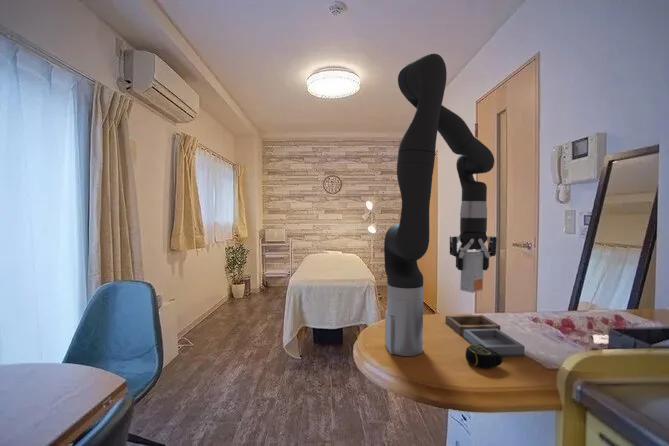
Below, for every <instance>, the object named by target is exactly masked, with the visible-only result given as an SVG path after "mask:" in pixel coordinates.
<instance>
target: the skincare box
mask: <svg viewBox="0 0 669 446" xmlns="http://www.w3.org/2000/svg"><path fill="white" fill-rule="evenodd" d="M462 258H463V270H460V283H459V284H460V285H459V287H460V288H459V289H460V291H463V292H467V293H472V294H473V293H477V292H480V291H483V287H484V286H483V285H484V270H483V263H484V253H483V252H480V251H478V250H468V251H467V252H466V253H465V254H464V256H463V257H462Z"/></svg>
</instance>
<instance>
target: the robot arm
mask: <svg viewBox="0 0 669 446" xmlns="http://www.w3.org/2000/svg"><path fill="white" fill-rule="evenodd" d="M447 73H448V72H447V66H446V62H445V60H444V59H443V57H442V56H441V55H440V54H437V53H430V54H426V55H424V56H421V57H420V58H417V59H416V60H414V61H412V62H411V61H410V62H409V63H407V64H405V65H404V66H403V67H401V69H400V70H399V72H398V75H397V84H398V88H399V90H400V92H401V94H402V95H403V96H404V98H405V99H406V101H408V102H409V103H410V104H411V105H412V106H413V107H414V108H415V112H414V115H413V117H412V120H411V122H410V123H409V125H408V127H407V129H406V130H405V132H404V134H403V136H402V138H401V139H400V140H401V141H400V143H399V146H398V152H397V160H396V161H397V163H396V178H397V182H398V183H397V184H398V187H399V192H400V197H401V211H400V219H399V222H398V223H395V224H393V225H391V226H390V227H389V228H388V229H387V230H386V232H385V234H384V241H383V242H384V243H383V247H384V248H383V252H384V253H383V255H384V271H385V276H386V280H387V281H386V282H387V283H386V285H387V286H386V289H387V290H386V291H387V292H386V293H387V294H386V295H387V296H386V298H387V299H386V300H387V301H386V309H385V312H384V345H385V347H386V349H387V350H388V353H389V354H390V355H397V356H401V357H402V356H403V357H416V356H419V355H421V354H422V353H423V348H424V347H423V345H424V341H423V340H424V338H423V337H424V335H423V334H424V333H423V332H424V331H423V330H424V324H423V323H424V276H423V273H422V271H420V268H419V266H418V261H419V260H420V259H422V258H423V257H424V256H425V255H426V253H427V250H428V248H429V245H430V208H431V207H430V204H431V196H432V195H431V194H432V185H433V184H432V183H433V175H434V168H435V159H436V145H437V138H438V137H437V136H438V133H439V135H440V136H441V137H442V139H443V140H444V142H445V143H446V145H447V146H448V148H449V149H450V150H451V151H452V153H453V154H455V155H458V157H457V159H456V164H455V167H456V172H457V175H458V179H459V183H460V186H461V203H460V204H461V205H460V213H459V216H460V217H459V218H460V219H459V221H460V222H459V225H460V226H459V232H460V234H459V236H454V235H450V236H449V255H451V256H453V257H454V258H455V268H456V269H457V270H458V271H461V270H463V258H462V257H463V256H464V254H465V253H466V252H467V251H474V250H475V251H478V252H483V253H484V263H483V271H488V269H489V267H490V258H492V257H495V256H496V255H497V239H498V238H497V237H496V236H493V235H490V236H487V229H488V207H487V205H488V203H487V199H488V198H487V197H488V196H487V195H488V186H487V184H486V183H485V182H482V181H478V180H477V181H476V180H475V178H474V175H478V174H486V173H489V172H490V171H492V169H493V168H494V165H495V157H494V154H493V152H492V151H491V149H489V148H488V147H487V145H485V144H484V143H483V142H482V141H481V140H479V139H478V138H476V137H475V136H474V134H473V132H472V130H471V129H470V128H469V126H468V124H467V123H466V121H465V120H464V119H463V118H462V117H461V116H460V115H458V114H457V113H455V112H453V111H452V110H451V109H449V108H447V107H445V105H443V100H444V95H445V90H446V85H447V76H448V75H447ZM459 242H460V245H459V247H458V243H459ZM486 242H487V246H486V245H485V243H486Z"/></svg>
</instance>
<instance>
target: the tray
mask: <svg viewBox="0 0 669 446" xmlns="http://www.w3.org/2000/svg"><path fill="white" fill-rule="evenodd" d="M463 339H464V340H465V341H466V342H467V343H468V344H469V345H478V344H481V345H483V346H485V347H487V348H489V349H491V350H493V351H495V352H496V353H498V354H499V355H501V357H502V358H503V357H525V345H523V344H522V343H520V342H519V341H517V340H516V339H514V338H513V337H511V336H509V335H508V334H506V333H505V332H503V331H501V329H500V330H499V329H465V330H464V335H463Z"/></svg>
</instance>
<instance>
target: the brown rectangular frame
mask: <svg viewBox="0 0 669 446" xmlns="http://www.w3.org/2000/svg"><path fill="white" fill-rule="evenodd" d="M445 324H446V326H448V327H449V328H450V329H452V331H454V332H455V333H456V334H457V335H459V336H464V330H465V329H499V330H500V331H501V325H499V324H498V323H497V322H494V321H493V320H491V319H490V318H488V317H486V316H485V315H484V314H469V315H468V314H467V315H463V314H462V315H445Z"/></svg>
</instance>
